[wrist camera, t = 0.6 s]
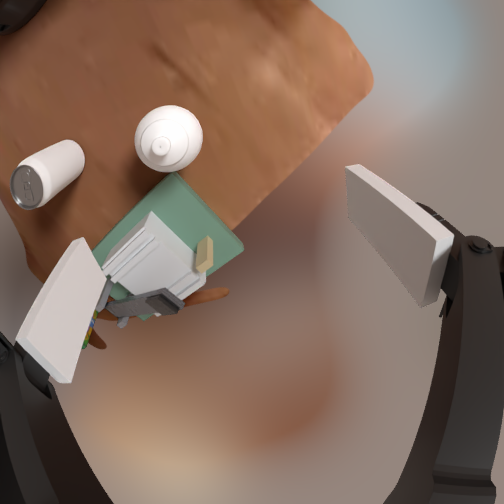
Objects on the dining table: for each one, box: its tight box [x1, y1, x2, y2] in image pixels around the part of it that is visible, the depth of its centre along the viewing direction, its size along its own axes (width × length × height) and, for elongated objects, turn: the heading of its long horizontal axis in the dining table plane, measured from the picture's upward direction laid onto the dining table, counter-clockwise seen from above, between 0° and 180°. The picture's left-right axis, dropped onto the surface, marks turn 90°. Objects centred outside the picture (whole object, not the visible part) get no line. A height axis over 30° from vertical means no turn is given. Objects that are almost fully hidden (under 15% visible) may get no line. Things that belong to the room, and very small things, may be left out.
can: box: [10, 140, 85, 210], centre depth 28 cm, size 6×6×12 cm
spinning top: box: [135, 105, 203, 172], centre depth 29 cm, size 8×8×12 cm
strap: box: [104, 287, 185, 318], centre depth 34 cm, size 3×18×2 cm, turn 127°
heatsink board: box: [91, 171, 244, 328], centre depth 40 cm, size 16×24×9 cm, turn 127°
